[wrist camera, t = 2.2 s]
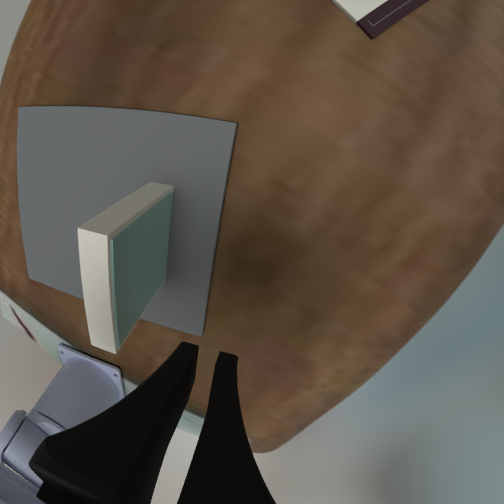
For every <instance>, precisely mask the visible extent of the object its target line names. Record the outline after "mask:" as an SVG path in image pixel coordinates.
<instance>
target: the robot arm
mask: <svg viewBox="0 0 504 504" xmlns="http://www.w3.org/2000/svg"><path fill="white" fill-rule="evenodd" d="M58 349H59V353H60V356H61V360H62V363H63V367H62V368H61V369H60V371H59V372H58V374H57V375H56V376H55V378H54V379H53V380H52V382H51V383H50V385H49V386H48V387H47V389H46V390H45V392H44V393H43V394H42V396H41V397H40V399H39V400H38V402H37V403H36V405H35V406H34V408H33V409H32V410H31V411H30V412H29V413H28V415H27V416H26V414H27V413H26V412H25V411H24V410H21V411H20V410H16V411H15V412H14V414H13V415H12V417H11V418H10V419H9V421H8V422H7V424H6V426H5V427H4V428H3V430H2V431H1V433H0V504H150V503H151V499H152V496H153V492H154V489H155V485H156V482H157V478H158V475H159V472H160V469H161V465H162V462H163V459H164V456H165V453H166V450H167V447H168V445H169V442H170V440H171V438H172V436H173V434H174V431H175V429H176V427H177V425H178V422H179V420H180V418H181V416H182V413H183V411H184V409H185V407H186V404H187V402H188V399H189V396H190V393H191V390H192V387H193V383H194V380H195V374H196V365H197V357H198V349H199V346H198V345H194V344H191V343H187V342H181V343H180V344H179V346H178V347H177V348H176V349H175V351H174V352H173V353H172V354H171V355H170V356H169V358H168V359H167V360H166V361H165V362H164V363H163V364H162V365H161V366H160V367H159V368H158V369H157V370H156V371H155V372H154V373H153V374H152V375H151V376H150V377H149V378H147V379H146V380H145V381H144V382H143V383H142V384H140V385H139V386H138V387H137V388H136V389H135V390H133V391H132V392H131V393H130V394H128V395H127V396H126V397H125V395H124V389H123V383H122V377H121V371H120V369H119V368H117V367H115V366H113V365H110V364H107V363H105V362H102V361H100V360H97V359H95V358H92V357H90V356H88V355H85V354H83V353H80V352H78V351H76V350H73V349H71V348H69V347H67V346H65V345H62V344H60V345H59V346H58ZM237 362H238V357H237V356H236V355H233V354H229V353H225V352H221V351H220V353H219V356H218V358H217V361H216V364H215V369H214V374H213V380H212V386H211V391H210V397H209V403H208V408H207V413H206V417H205V420H204V424H203V427H202V430H201V433H200V436H199V440H198V443H197V446H196V449H195V452H194V455H193V458H192V461H191V464H190V467H189V470H188V473H187V476H186V479H185V482H184V486H183V488H182V491H181V494H180V497H179V499H178V502H177V504H276V503H275V501H274V499H273V497H272V496H271V494H270V492H269V490H268V488H267V486H266V484H265V482H264V480H263V478H262V476H261V473H260V471H259V469H258V466H257V464H256V461H255V459H254V457H253V454H252V451H251V448H250V445H249V442H248V438H247V435H246V431H245V427H244V423H243V419H242V414H241V409H240V403H239V395H238V387H237ZM2 452H3V453H2ZM3 462H4V463H5V464H7V465H8V466H9V467H11V468H12V469H13V470H14V471H16V472H17V473H18V474H20V475H21V476H22V477H24V478H25V479H26V480H25V479H23V478H22V477H20V476H19V475H17V474H16V473H15V472H13V471H12V470H10V469H9V468H8V467H6V466H5V465H4V463H3ZM27 480H28V481H29V482H28V481H27ZM31 483H32V484H31ZM34 485H35V486H34Z"/></svg>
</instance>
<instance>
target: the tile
mask: <svg viewBox="0 0 504 504" xmlns="http://www.w3.org/2000/svg"><path fill="white" fill-rule="evenodd" d="M173 191H174V186H172V185H167V184H161V183H156V182H150V183H148V184H146V185H145V186H143V187H141V188H139V189H138V190H136V191H134V192H133V193H131V194H129V195H128V196H126V197H125V198H123V199H121V200H120V201H118V202H116V203H115V204H113V205H112V206H110V207H109V208H107V209H105V210H104V211H102V212H101V213H99V214H98V215H96V216H95V217H93V218H92V219H90V220H89V221H87V222H86V223H84V224H83V225H81V226H80V227H78V245H79V258H80V269H81V279H82V288H83V296H84V303H85V310H86V317H87V323H88V329H89V335H90V340H91V345H93V346H96V347H98V348H101V349H103V350H106V351H109V352H111V353H114V354H117V352H118V351H119V349H120V348H121V346H122V344H123V343H124V341H125V340H126V338H127V337H128V335H129V334H130V332H131V331H132V329H133V328H134V326H135V325H136V323H137V322H138V320H139V319H140V317H141V316H142V314H143V313H144V311H145V310H146V308H147V307H148V305H149V304H150V302H151V301H152V299H153V298H154V296H155V295H156V293H157V292H158V290H159V289H160V288H161V286H162V285H163V283H164V282H165V280H166V270H167V256H168V243H169V231H170V220H171V210H172V200H173Z"/></svg>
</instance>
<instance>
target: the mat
mask: <svg viewBox="0 0 504 504" xmlns="http://www.w3.org/2000/svg"><path fill="white" fill-rule="evenodd" d="M237 126H238V123H235V122H230V121H224V120H218V119H212V118H205V117H199V116H192V115H184V114H176V113H168V112H159V111H150V110H139V109H127V108H112V107H93V106H22V107H19V111H18V128H17V178H18V197H19V209H20V219H21V228H22V236H23V244H24V250H25V257H26V263H27V268H28V273H29V278H30V279H32V280H35V281H37V282H40V283H42V284H45V285H47V286H50V287H52V288H55V289H57V290H60V291H62V292H65V293H68V294H70V295H73V296H75V297H78V298H81V299H84V296H83V288H82V279H81V269H80V258H79V245H78V227H80V226H81V225H83V224H84V223H86V222H87V221H89V220H90V219H92V218H93V217H95V216H96V215H98V214H99V213H101V212H102V211H104V210H105V209H107V208H109V207H110V206H112V205H113V204H115V203H116V202H118V201H120V200H121V199H123V198H125V197H126V196H128V195H129V194H131V193H133V192H134V191H136V190H138V189H139V188H141V187H143V186H145V185H146V184H148V183H150V182H156V183H161V184H167V185H172V186H174V191H173V200H172V210H171V220H170V231H169V243H168V256H167V270H166V280H165V282H164V283H163V285H162V286H161V288H160V289H159V290H158V292H157V293H156V295H155V296H154V298H153V299H152V301H151V302H150V304H149V305H148V307H147V308H146V310H145V311H144V313H143V314H142V316H141V317H140V319H143V320H146V321H149V322H152V323H156V324H159V325H162V326H166V327H169V328H173V329H176V330H180V331H183V332H187V333H190V334H194V335H198V336H201V337H202V335H203V332H204V325H205V318H206V311H207V304H208V297H209V290H210V283H211V276H212V270H213V263H214V257H215V251H216V244H217V238H218V232H219V226H220V220H221V214H222V208H223V202H224V196H225V191H226V185H227V179H228V174H229V168H230V163H231V157H232V152H233V147H234V141H235V136H236V131H237Z"/></svg>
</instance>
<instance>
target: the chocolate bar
mask: <svg viewBox="0 0 504 504" xmlns="http://www.w3.org/2000/svg"><path fill="white" fill-rule="evenodd" d="M332 1H333V2H334V3H335V4H336V5H337V6H338V7H339V8H340V9H341V10H342V11H343V12H345V13H346V14H347V15H348V16H349V17H350V18H351V19H352V20H353V21H354V22H355V23H356V24H357V25H358V26H359V27H360V28H361V29H362V30H363V31H364V32H365V33H366V34H367V36H368V37H369V38H370V39H373V38H374V37H376V36H377V35H378V34H380V33H381V32H382V31H384V30H385V29H387V28H388V27H389V26H391V25H392V24H394V23H395V22H396V21H398V20H399V19H401V18H402V17H404V16H405V15H407V14H408V13H410V12H411V11H412V10H414V9H415V8H417V7H418V6H420V5H421V4H423V3H425V2H426V1H428V0H332Z"/></svg>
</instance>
